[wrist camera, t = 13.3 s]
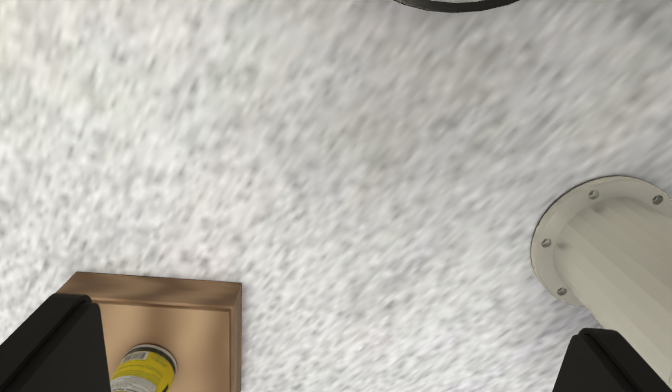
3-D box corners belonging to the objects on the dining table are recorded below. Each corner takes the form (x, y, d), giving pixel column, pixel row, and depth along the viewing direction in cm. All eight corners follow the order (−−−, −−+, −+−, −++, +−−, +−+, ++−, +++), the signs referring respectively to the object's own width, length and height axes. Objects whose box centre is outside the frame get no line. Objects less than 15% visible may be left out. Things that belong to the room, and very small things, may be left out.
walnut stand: (241, 283, 41) (232, 309, 37) (240, 389, 46) (232, 422, 42) (76, 271, 41) (51, 297, 37) (93, 381, 45) (72, 413, 42)
